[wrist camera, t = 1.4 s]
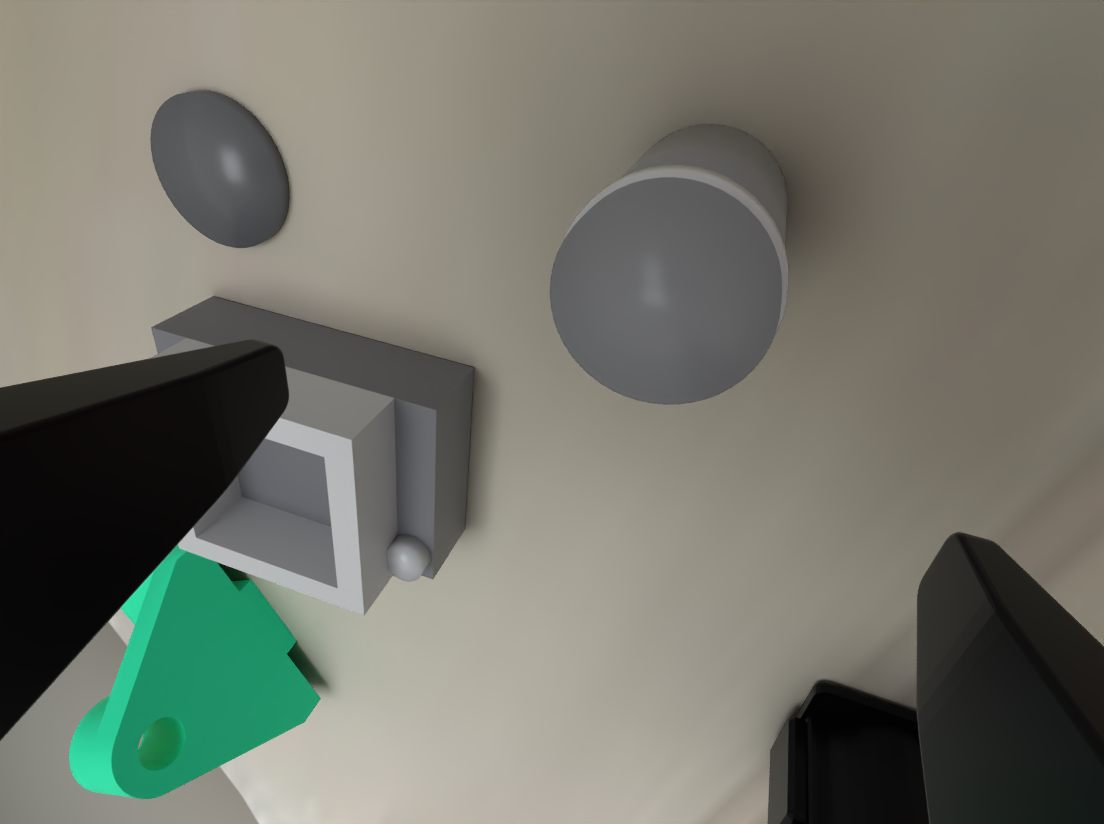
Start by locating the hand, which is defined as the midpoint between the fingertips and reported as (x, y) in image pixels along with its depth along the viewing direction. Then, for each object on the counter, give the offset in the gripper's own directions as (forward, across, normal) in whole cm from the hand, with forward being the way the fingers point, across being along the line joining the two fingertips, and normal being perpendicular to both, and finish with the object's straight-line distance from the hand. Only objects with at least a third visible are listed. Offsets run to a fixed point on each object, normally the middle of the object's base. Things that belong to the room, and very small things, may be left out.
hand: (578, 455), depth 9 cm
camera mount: (+12, +21, +28) cm, 37 cm away
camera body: (+12, +12, +11) cm, 20 cm away
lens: (+12, 0, 0) cm, 12 cm away
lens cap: (+12, +16, +2) cm, 20 cm away
